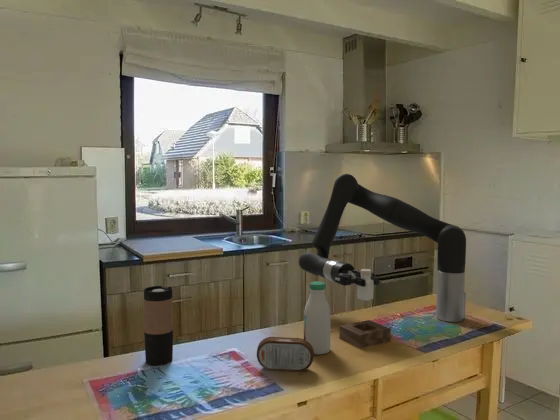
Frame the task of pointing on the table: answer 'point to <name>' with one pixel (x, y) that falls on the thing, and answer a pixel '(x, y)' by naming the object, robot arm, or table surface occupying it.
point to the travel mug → (158, 325)
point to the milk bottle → (317, 319)
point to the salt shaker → (368, 290)
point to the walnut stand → (364, 333)
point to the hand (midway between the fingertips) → (371, 282)
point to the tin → (285, 354)
